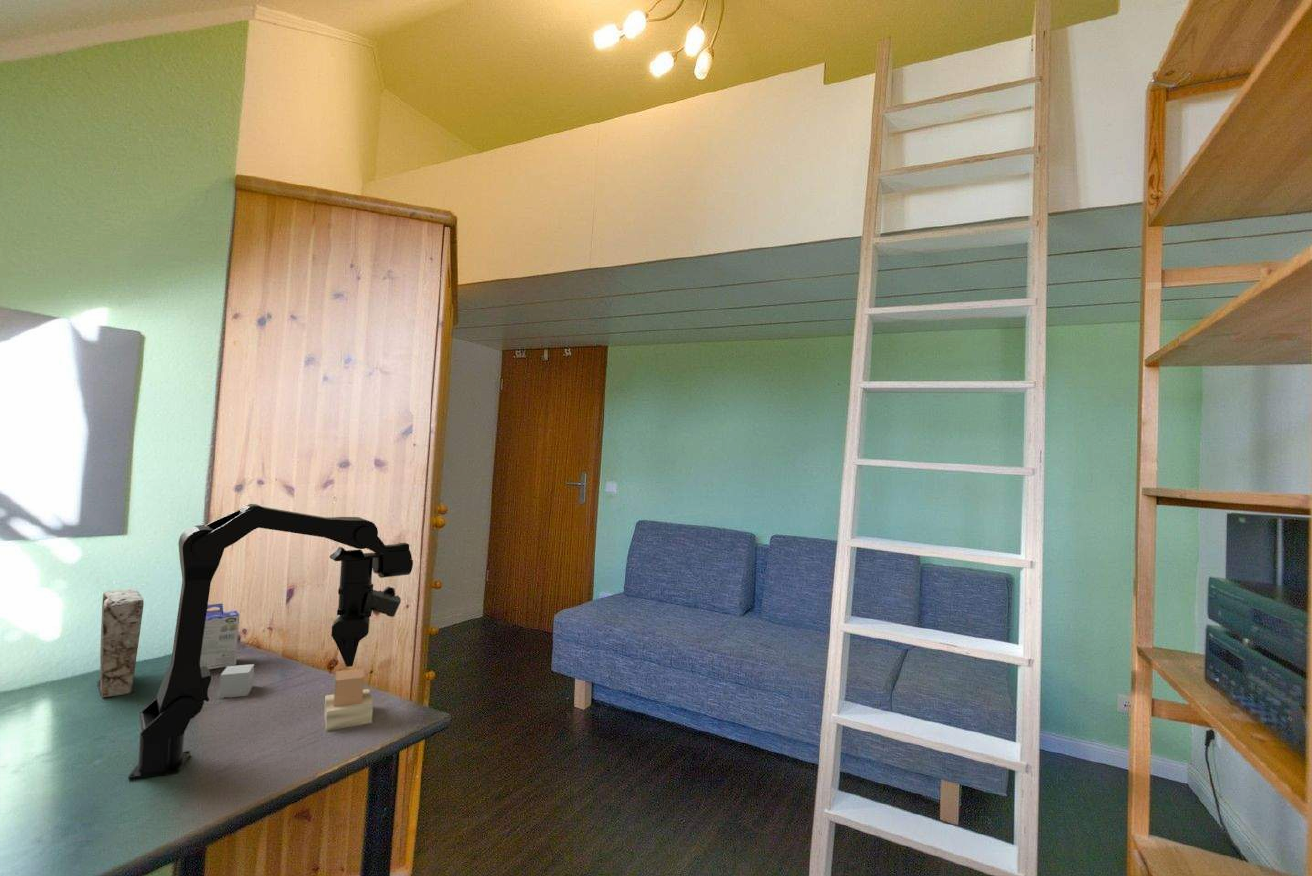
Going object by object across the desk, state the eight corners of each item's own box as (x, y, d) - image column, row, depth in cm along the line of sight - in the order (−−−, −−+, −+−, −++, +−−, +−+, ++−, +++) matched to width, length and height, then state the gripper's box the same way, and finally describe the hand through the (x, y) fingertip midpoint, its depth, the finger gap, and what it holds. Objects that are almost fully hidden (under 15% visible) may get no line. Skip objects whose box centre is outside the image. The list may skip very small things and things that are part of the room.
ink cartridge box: (234, 658, 144) (238, 600, 144) (237, 665, 140) (241, 605, 140) (183, 667, 137) (187, 606, 138) (185, 675, 133) (189, 611, 134)
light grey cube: (247, 695, 124) (248, 672, 125) (219, 698, 122) (220, 675, 123) (252, 686, 129) (254, 664, 129) (225, 689, 127) (227, 666, 127)
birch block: (371, 724, 115) (372, 704, 115) (325, 732, 111) (326, 711, 111) (367, 707, 122) (369, 688, 122) (324, 715, 118) (325, 695, 118)
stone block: (143, 691, 124) (149, 597, 124) (98, 701, 118) (105, 603, 119) (129, 674, 132) (135, 586, 133) (86, 683, 127) (93, 591, 127)
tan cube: (362, 702, 116) (363, 677, 116) (333, 706, 113) (335, 680, 114) (362, 692, 120) (364, 668, 120) (335, 696, 118) (336, 671, 118)
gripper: (399, 589, 112) (394, 671, 112) (399, 569, 129) (395, 640, 129) (333, 592, 107) (328, 677, 107) (343, 571, 125) (338, 644, 124)
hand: (351, 658), depth 117 cm, fingers open, 9 cm apart
